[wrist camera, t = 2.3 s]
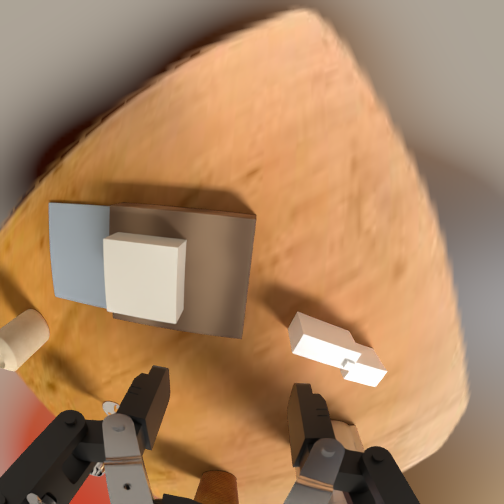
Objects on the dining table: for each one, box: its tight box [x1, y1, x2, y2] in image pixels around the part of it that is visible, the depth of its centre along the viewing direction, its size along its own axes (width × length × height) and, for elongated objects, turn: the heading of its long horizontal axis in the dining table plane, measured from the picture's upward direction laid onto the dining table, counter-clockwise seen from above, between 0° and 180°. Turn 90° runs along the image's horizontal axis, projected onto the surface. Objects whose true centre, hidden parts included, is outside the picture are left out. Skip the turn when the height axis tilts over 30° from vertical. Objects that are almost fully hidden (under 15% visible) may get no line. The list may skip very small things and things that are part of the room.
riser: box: [109, 202, 256, 339], centre depth 28 cm, size 14×12×3 cm
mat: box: [49, 202, 110, 309], centre depth 29 cm, size 10×12×1 cm
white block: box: [103, 232, 187, 324], centre depth 25 cm, size 7×7×3 cm
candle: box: [0, 309, 50, 371], centre depth 28 cm, size 6×6×10 cm
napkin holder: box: [288, 311, 387, 387], centre depth 29 cm, size 15×11×6 cm
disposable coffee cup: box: [194, 471, 239, 504], centre depth 34 cm, size 10×10×12 cm
